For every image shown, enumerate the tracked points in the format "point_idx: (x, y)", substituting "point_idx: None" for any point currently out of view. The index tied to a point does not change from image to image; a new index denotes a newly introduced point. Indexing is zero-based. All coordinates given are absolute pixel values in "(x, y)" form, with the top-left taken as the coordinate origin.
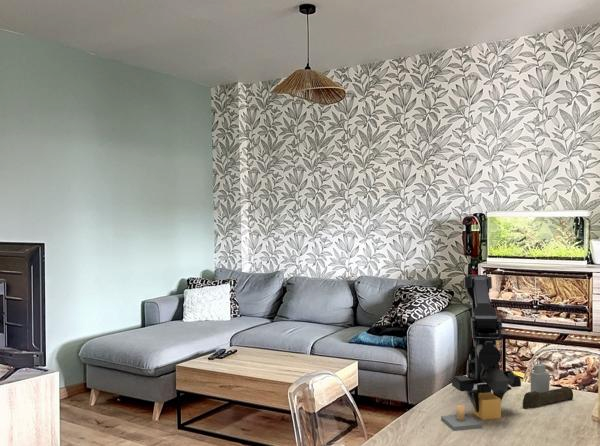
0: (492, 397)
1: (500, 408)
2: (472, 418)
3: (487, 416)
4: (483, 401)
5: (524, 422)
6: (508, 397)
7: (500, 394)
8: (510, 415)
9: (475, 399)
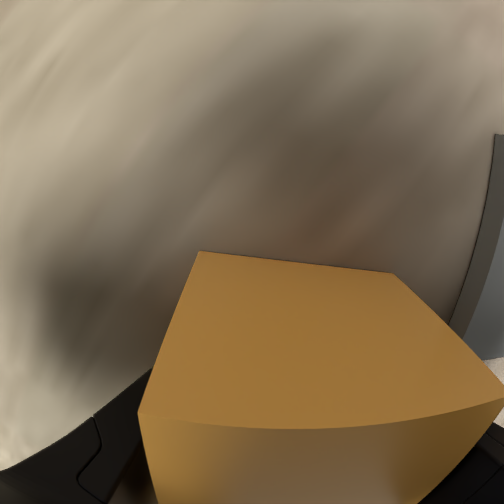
0: (270, 485)
1: (185, 297)
2: (496, 267)
3: (359, 278)
4: (492, 384)
5: (66, 81)
6: (24, 449)
7: (87, 494)
8: (80, 272)
9: (501, 432)
